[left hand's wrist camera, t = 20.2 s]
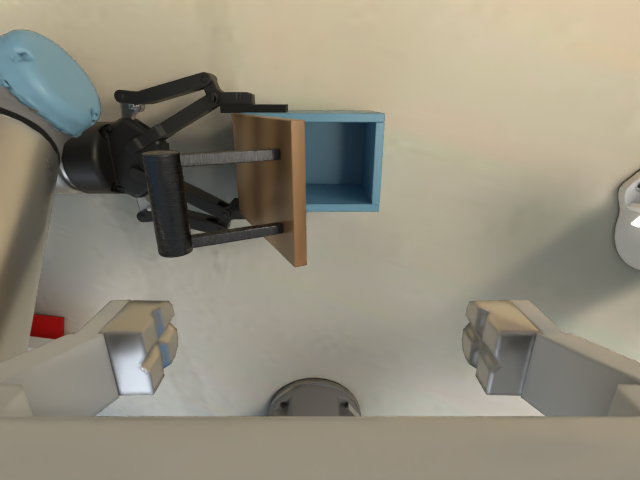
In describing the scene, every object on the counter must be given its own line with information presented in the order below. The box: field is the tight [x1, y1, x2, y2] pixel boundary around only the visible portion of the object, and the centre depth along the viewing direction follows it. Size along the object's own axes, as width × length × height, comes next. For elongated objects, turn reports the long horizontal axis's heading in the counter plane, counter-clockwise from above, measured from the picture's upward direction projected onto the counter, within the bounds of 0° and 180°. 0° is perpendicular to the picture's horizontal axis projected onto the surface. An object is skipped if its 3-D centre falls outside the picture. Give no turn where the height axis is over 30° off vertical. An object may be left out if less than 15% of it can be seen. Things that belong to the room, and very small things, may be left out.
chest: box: [241, 111, 385, 212], centre depth 40 cm, size 14×10×11 cm
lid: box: [142, 113, 307, 267], centre depth 27 cm, size 14×10×9 cm
